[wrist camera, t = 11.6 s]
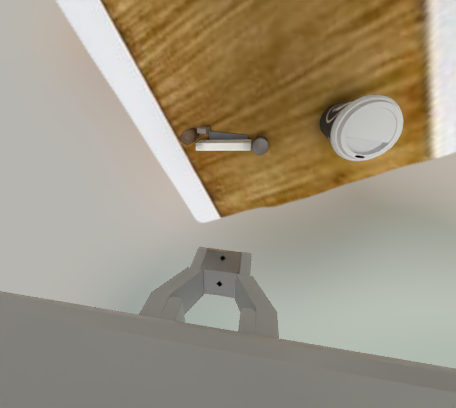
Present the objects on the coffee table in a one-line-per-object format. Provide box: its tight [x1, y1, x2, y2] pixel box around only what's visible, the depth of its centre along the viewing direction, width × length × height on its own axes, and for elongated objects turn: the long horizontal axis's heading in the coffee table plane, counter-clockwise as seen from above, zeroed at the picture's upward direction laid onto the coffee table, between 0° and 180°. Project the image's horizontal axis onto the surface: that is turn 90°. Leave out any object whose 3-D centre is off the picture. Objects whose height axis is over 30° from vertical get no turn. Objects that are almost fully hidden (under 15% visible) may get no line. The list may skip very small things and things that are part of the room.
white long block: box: [196, 139, 251, 151], centre depth 44 cm, size 12×2×4 cm, turn 92°
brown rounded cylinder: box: [180, 126, 210, 145], centre depth 45 cm, size 4×5×5 cm, turn 86°
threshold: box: [209, 131, 248, 140], centre depth 46 cm, size 2×9×1 cm, turn 85°
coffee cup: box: [320, 94, 403, 161], centre depth 35 cm, size 10×10×15 cm
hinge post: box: [252, 136, 268, 155], centre depth 43 cm, size 3×3×5 cm
